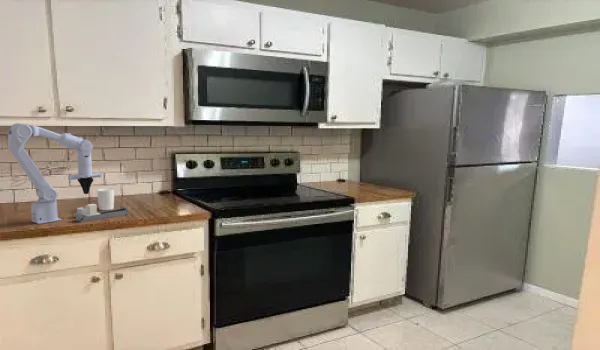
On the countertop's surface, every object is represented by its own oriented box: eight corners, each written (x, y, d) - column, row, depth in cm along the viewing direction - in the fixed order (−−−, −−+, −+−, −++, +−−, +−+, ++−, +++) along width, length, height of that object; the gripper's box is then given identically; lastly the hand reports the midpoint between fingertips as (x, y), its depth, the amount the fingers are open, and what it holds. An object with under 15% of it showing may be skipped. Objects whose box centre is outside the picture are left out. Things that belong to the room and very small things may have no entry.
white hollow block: (82, 218, 186) (82, 209, 186) (77, 216, 189) (77, 208, 188) (95, 215, 191) (95, 207, 190) (90, 214, 194) (90, 206, 193)
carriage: (87, 218, 181) (86, 206, 180) (83, 217, 183) (83, 205, 182) (100, 216, 186) (99, 204, 185) (96, 215, 188) (96, 203, 187)
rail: (81, 222, 178) (80, 215, 178) (76, 220, 181) (75, 213, 181) (128, 214, 196) (127, 207, 195) (122, 212, 199) (122, 206, 198)
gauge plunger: (85, 216, 188) (84, 206, 188) (82, 215, 190) (82, 206, 189) (90, 215, 190) (89, 206, 190) (87, 214, 192) (87, 205, 191)
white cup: (96, 210, 201) (95, 191, 200) (99, 207, 209) (98, 188, 208) (113, 210, 203) (112, 190, 202) (116, 207, 211) (115, 188, 210)
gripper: (72, 166, 180) (74, 196, 182) (104, 164, 192) (105, 192, 194) (65, 165, 185) (66, 194, 186) (97, 163, 196) (98, 191, 198)
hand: (86, 193), depth 190 cm, fingers closed
